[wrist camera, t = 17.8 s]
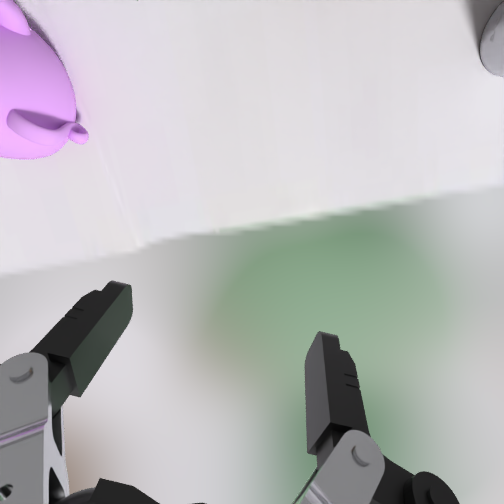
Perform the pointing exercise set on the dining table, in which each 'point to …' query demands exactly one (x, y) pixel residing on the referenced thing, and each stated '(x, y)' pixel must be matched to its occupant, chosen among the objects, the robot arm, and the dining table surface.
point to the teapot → (32, 92)
